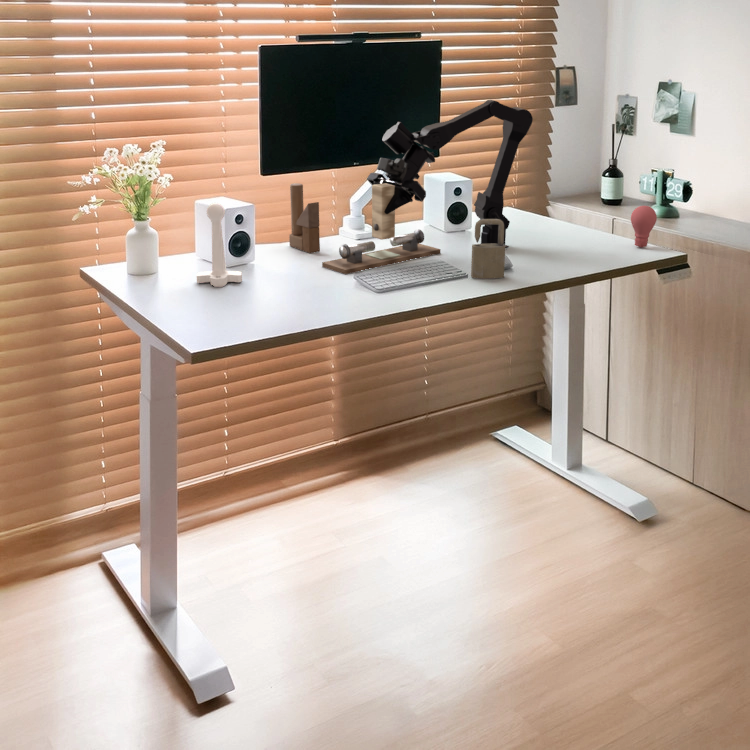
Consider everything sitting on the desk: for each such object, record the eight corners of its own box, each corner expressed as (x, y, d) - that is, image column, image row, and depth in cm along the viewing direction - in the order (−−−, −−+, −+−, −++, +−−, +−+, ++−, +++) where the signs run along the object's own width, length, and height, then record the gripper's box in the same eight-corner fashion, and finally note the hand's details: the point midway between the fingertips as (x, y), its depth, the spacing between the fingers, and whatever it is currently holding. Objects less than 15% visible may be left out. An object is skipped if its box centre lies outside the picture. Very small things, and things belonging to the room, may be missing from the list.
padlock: (470, 275, 253) (472, 217, 248) (501, 274, 254) (504, 217, 248) (473, 279, 249) (475, 221, 244) (504, 278, 250) (507, 220, 244)
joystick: (242, 278, 250) (238, 201, 243) (240, 287, 243) (236, 207, 236) (198, 279, 249) (193, 201, 242) (195, 287, 242) (189, 207, 235)
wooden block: (309, 253, 274) (307, 189, 268) (289, 246, 282) (287, 183, 276) (320, 251, 276) (319, 188, 270) (299, 244, 284) (298, 182, 278)
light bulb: (643, 243, 284) (647, 202, 280) (658, 249, 278) (663, 207, 274) (623, 245, 282) (626, 204, 278) (637, 251, 276) (641, 209, 272)
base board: (416, 246, 281) (416, 241, 281) (440, 253, 274) (440, 248, 274) (322, 266, 261) (322, 261, 260) (345, 274, 254) (345, 268, 253)
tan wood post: (386, 234, 268) (386, 183, 263) (395, 237, 265) (396, 185, 259) (370, 236, 265) (370, 185, 260) (380, 239, 262) (380, 187, 257)
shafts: (415, 246, 277) (415, 228, 275) (424, 248, 274) (424, 230, 272) (338, 262, 260) (338, 243, 258) (347, 265, 257) (347, 246, 255)
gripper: (372, 142, 265) (340, 188, 263) (418, 150, 252) (386, 198, 249) (393, 168, 273) (363, 213, 270) (440, 177, 260) (408, 224, 257)
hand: (379, 211), depth 261 cm, fingers closed on tan wood post, 5 cm apart
